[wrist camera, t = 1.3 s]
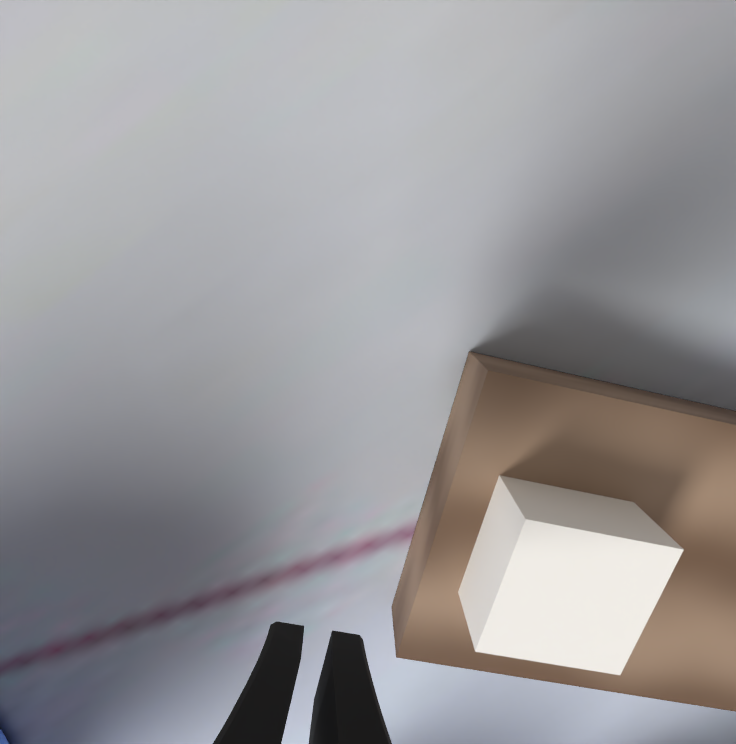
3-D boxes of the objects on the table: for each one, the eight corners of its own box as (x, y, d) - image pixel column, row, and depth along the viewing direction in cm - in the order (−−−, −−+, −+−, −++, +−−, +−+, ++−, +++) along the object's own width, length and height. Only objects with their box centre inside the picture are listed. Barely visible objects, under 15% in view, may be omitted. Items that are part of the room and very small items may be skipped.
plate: (717, 662, 21) (763, 715, 19) (391, 606, 20) (396, 657, 17) (848, 436, 18) (924, 466, 16) (469, 351, 17) (488, 370, 14)
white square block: (582, 613, 17) (620, 675, 15) (458, 592, 17) (475, 651, 14) (633, 502, 16) (684, 549, 13) (498, 475, 15) (525, 519, 13)
